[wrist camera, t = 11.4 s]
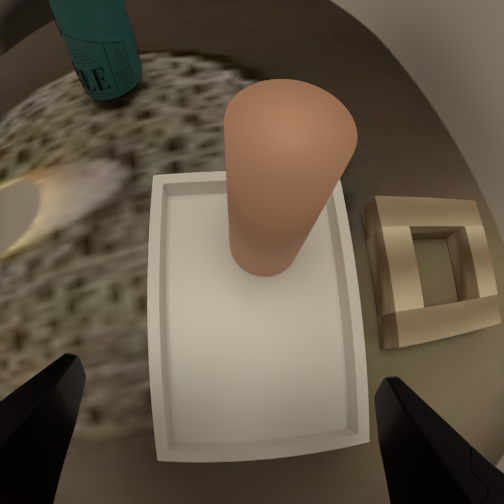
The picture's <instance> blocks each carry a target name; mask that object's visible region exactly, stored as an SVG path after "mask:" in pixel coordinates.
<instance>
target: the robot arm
mask: <svg viewBox="0 0 504 504" xmlns="http://www.w3.org/2000/svg"><path fill="white" fill-rule="evenodd" d="M85 381H86V374H85V371H84V368H83V366H82V363H81V361H80V358H79V357H78V356H77V355H73V354H69V353H66V354H64V355H62V356H61V357H60V358H58V359H57V360H56V361H54V362H53V363H51V364H50V365H49V366H47V367H46V368H45V369H43V370H42V371H41V372H39V373H38V374H37V375H35V376H34V377H32V378H31V379H30V380H28V381H27V382H26V383H24V384H23V385H22V386H20V387H19V388H18V389H16V390H15V391H14V392H12V393H11V394H10V395H8V396H7V397H6V398H4V399H3V400H2V401H0V504H53V502H54V498H55V494H56V490H57V486H58V482H59V479H60V475H61V471H62V468H63V464H64V460H65V457H66V454H67V450H68V447H69V444H70V440H71V437H72V434H73V431H74V428H75V424H76V421H77V417H78V412H79V407H80V403H81V398H82V394H83V389H84V385H85ZM374 402H375V411H376V420H377V429H378V439H379V445H380V451H381V455H382V460H383V465H384V470H385V475H386V481H387V486H388V492H389V497H390V503H391V504H504V473H503V472H501V471H500V470H499V469H497V468H496V467H495V466H494V465H492V464H491V463H490V462H489V461H488V460H486V459H485V458H484V457H483V456H482V455H481V454H480V453H479V452H478V451H477V450H476V449H474V448H473V447H472V446H471V445H470V444H469V443H468V442H467V441H466V440H465V439H464V438H463V437H462V436H461V435H460V434H458V433H457V432H456V431H455V430H454V429H453V428H452V427H451V426H450V425H449V424H448V423H447V422H446V421H445V420H444V419H443V418H441V417H440V416H439V415H438V414H437V413H436V412H435V411H434V410H433V409H432V408H431V407H430V406H429V405H428V404H427V403H425V402H424V401H423V400H422V399H421V398H420V397H419V396H418V395H417V394H416V393H415V392H414V391H413V390H412V389H410V388H409V387H408V386H407V385H406V384H405V383H404V382H403V381H402V380H401V379H400V378H398V377H396V376H393V377H385V378H384V379H383V380H382V382H381V384H380V386H379V388H378V390H377V391H376V393H375V397H374Z"/></svg>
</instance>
